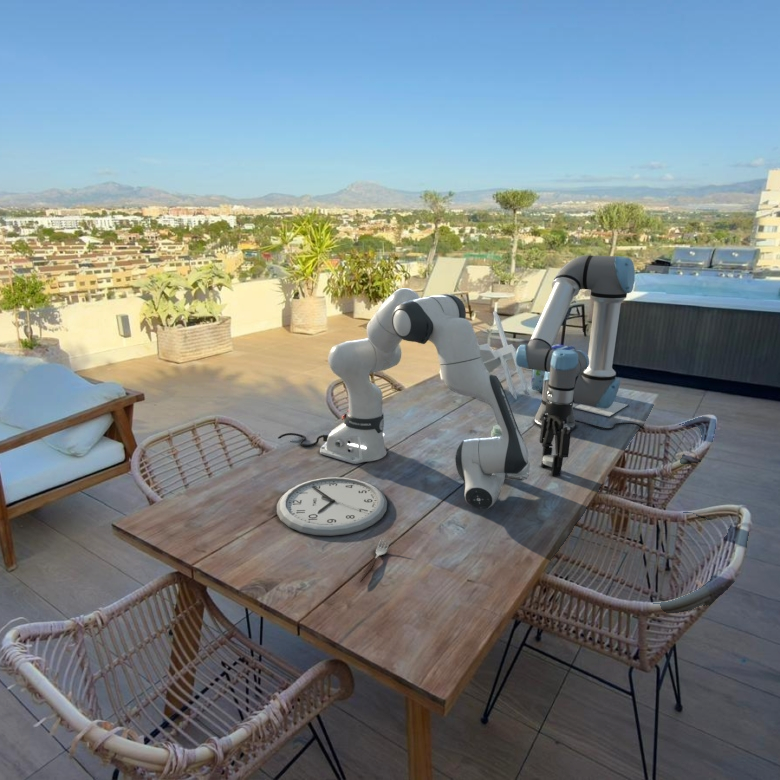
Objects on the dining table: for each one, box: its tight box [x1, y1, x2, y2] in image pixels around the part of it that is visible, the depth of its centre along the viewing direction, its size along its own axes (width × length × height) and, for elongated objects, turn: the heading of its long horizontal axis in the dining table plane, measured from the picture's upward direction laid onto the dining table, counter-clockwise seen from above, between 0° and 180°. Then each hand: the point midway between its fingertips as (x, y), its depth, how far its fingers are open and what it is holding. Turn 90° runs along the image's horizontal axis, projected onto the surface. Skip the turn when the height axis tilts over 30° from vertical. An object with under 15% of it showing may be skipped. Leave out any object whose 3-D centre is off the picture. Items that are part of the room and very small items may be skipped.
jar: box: [490, 424, 502, 437], centre depth 159 cm, size 5×5×16 cm
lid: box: [541, 454, 554, 468], centre depth 164 cm, size 6×6×2 cm
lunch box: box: [530, 344, 576, 392], centre depth 247 cm, size 26×11×21 cm, turn 134°
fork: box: [359, 536, 392, 583], centre depth 118 cm, size 3×16×2 cm, turn 160°
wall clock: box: [276, 476, 388, 537], centre depth 142 cm, size 30×2×30 cm
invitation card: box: [573, 401, 629, 418], centre depth 226 cm, size 21×1×15 cm
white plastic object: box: [438, 310, 531, 400], centre depth 245 cm, size 37×45×31 cm
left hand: (497, 454), depth 160 cm, fingers closed on jar, 5 cm apart
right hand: (550, 470), depth 165 cm, fingers closed on lid, 6 cm apart
